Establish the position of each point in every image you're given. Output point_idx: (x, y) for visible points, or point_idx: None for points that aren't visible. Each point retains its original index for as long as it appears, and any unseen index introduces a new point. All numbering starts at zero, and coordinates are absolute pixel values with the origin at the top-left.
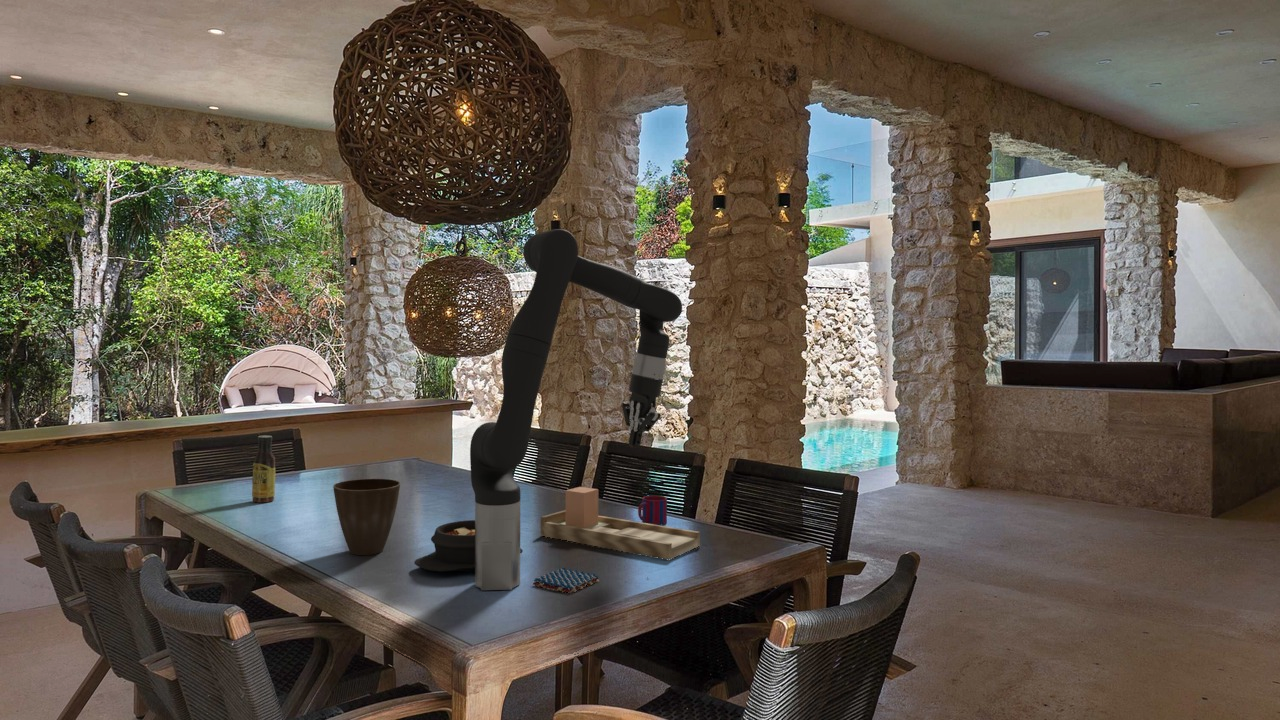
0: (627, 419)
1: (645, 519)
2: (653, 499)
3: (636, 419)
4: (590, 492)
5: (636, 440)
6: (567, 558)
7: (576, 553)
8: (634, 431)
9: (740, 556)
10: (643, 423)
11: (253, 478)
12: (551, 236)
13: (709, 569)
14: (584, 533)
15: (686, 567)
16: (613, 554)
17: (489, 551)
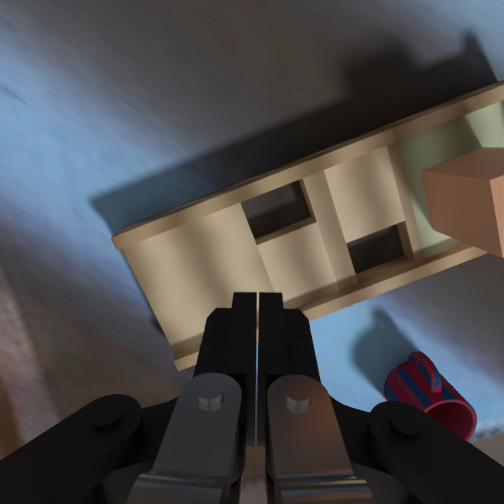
0: (441, 474)
1: (412, 364)
2: (460, 430)
3: (153, 501)
4: (493, 215)
5: (204, 335)
6: (276, 18)
7: (302, 68)
8: (240, 381)
9: (71, 376)
10: (11, 488)
11: None
12: None
13: (11, 262)
14: (370, 135)
15: (50, 229)
16: (240, 147)
17: None
